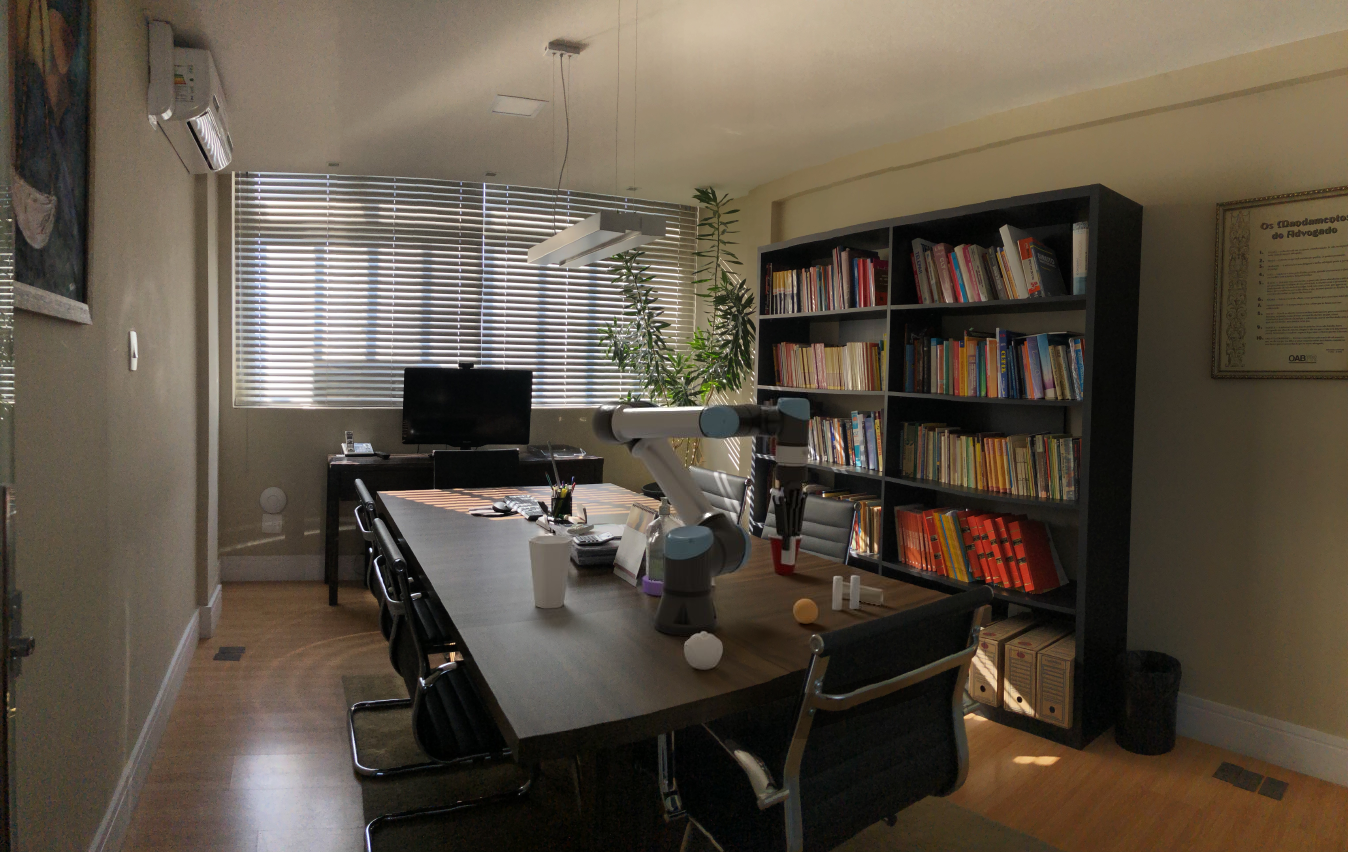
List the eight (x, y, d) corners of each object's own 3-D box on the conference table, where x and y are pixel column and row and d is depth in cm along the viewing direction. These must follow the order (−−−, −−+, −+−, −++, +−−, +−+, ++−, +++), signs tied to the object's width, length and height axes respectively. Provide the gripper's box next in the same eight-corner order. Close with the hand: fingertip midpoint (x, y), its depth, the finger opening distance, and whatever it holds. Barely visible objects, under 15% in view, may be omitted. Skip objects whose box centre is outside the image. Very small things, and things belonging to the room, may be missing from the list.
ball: (805, 628, 193) (806, 603, 193) (787, 621, 198) (788, 597, 198) (822, 624, 197) (823, 600, 196) (804, 618, 202) (805, 594, 201)
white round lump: (720, 662, 168) (721, 626, 168) (724, 675, 160) (725, 637, 160) (682, 661, 168) (683, 625, 167) (684, 675, 160) (685, 636, 160)
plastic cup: (800, 569, 255) (802, 531, 254) (802, 577, 244) (804, 538, 243) (766, 567, 256) (767, 530, 255) (766, 575, 245) (768, 536, 244)
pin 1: (837, 610, 209) (838, 578, 209) (830, 608, 211) (831, 576, 210) (843, 609, 210) (844, 577, 210) (836, 607, 212) (837, 575, 212)
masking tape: (647, 597, 217) (648, 583, 217) (638, 586, 229) (638, 573, 228) (689, 595, 221) (689, 581, 220) (677, 585, 232) (678, 571, 232)
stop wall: (879, 605, 215) (880, 591, 215) (832, 595, 224) (832, 581, 223) (882, 604, 217) (883, 589, 216) (835, 594, 225) (836, 580, 225)
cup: (560, 612, 200) (562, 544, 199) (522, 609, 202) (523, 541, 201) (575, 600, 211) (576, 536, 210) (538, 597, 213) (540, 533, 212)
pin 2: (854, 609, 210) (856, 577, 210) (847, 607, 212) (848, 575, 212) (860, 608, 212) (862, 576, 211) (853, 606, 214) (855, 574, 213)
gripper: (791, 467, 180) (787, 570, 181) (819, 463, 191) (815, 561, 192) (762, 464, 185) (759, 565, 186) (791, 460, 195) (788, 556, 196)
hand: (787, 563), depth 189 cm, fingers closed
